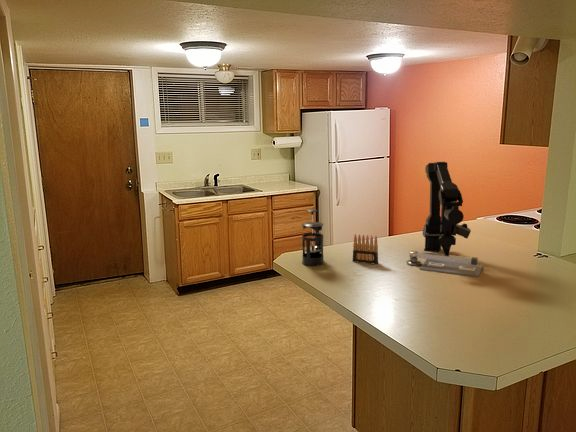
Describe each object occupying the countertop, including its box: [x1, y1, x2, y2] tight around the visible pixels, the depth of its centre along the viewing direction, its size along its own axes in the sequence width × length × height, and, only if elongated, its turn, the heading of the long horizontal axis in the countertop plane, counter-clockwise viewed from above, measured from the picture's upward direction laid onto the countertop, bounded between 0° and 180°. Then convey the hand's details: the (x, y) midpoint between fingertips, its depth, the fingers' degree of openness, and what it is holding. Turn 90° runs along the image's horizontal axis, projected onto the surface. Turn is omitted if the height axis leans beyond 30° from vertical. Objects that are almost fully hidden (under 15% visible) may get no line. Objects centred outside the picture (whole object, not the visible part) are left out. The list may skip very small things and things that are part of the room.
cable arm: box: [409, 250, 479, 265], centre depth 189 cm, size 26×4×2 cm, turn 62°
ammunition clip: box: [352, 233, 379, 265], centre depth 198 cm, size 11×2×12 cm, turn 65°
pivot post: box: [405, 257, 422, 267], centre depth 195 cm, size 6×6×3 cm
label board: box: [419, 259, 483, 278], centre depth 188 cm, size 22×14×1 cm, turn 62°
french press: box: [301, 208, 325, 267], centre depth 198 cm, size 12×9×23 cm
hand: (446, 256), depth 190 cm, fingers closed
